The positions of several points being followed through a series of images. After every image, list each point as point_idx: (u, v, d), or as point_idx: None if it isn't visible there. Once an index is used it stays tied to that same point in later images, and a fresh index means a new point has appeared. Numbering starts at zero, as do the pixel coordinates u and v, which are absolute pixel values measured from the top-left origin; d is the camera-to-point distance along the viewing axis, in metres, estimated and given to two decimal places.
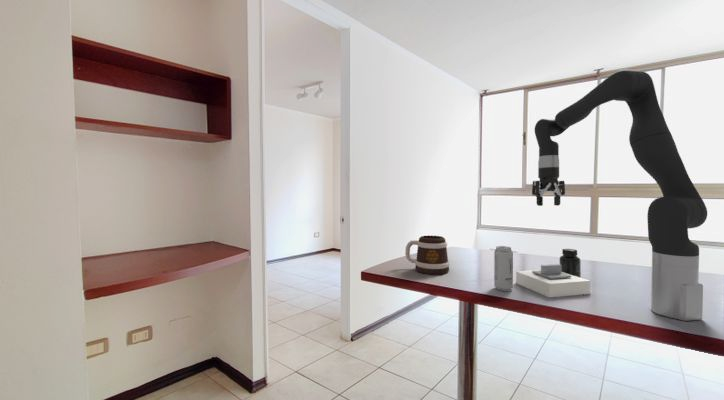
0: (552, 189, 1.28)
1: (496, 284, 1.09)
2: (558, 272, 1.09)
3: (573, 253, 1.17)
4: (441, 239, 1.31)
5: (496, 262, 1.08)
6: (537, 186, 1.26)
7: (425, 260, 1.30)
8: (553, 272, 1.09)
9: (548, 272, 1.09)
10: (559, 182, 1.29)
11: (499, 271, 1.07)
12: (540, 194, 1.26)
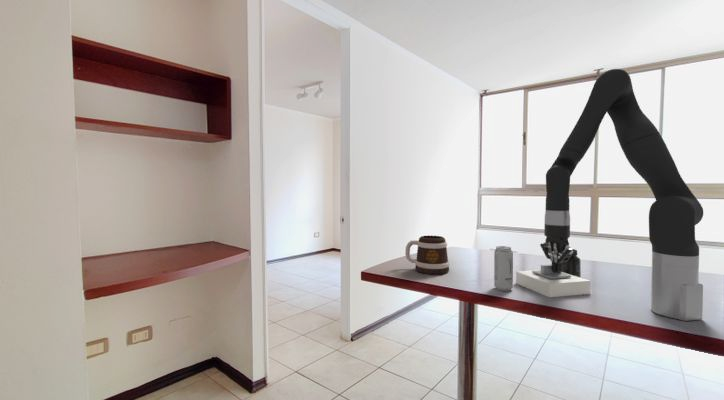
0: None
1: (496, 284, 1.09)
2: None
3: None
4: (441, 239, 1.31)
5: (496, 262, 1.08)
6: None
7: (425, 260, 1.30)
8: (553, 272, 1.09)
9: (548, 272, 1.09)
10: None
11: (499, 271, 1.07)
12: None
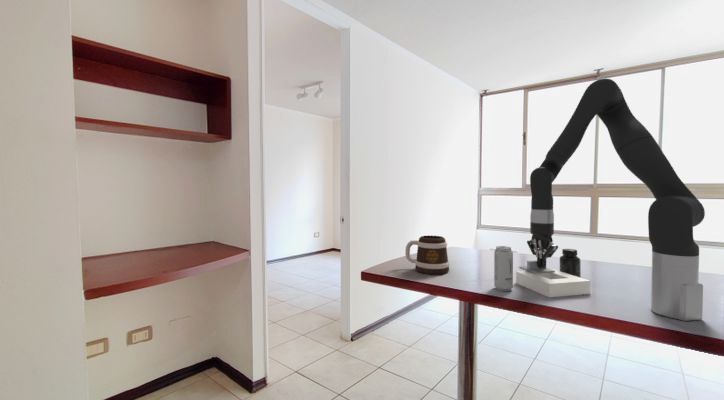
0: None
1: (496, 284, 1.09)
2: None
3: (573, 253, 1.17)
4: (441, 239, 1.31)
5: (496, 262, 1.08)
6: None
7: (425, 260, 1.30)
8: None
9: (533, 267, 1.15)
10: None
11: (499, 271, 1.07)
12: None
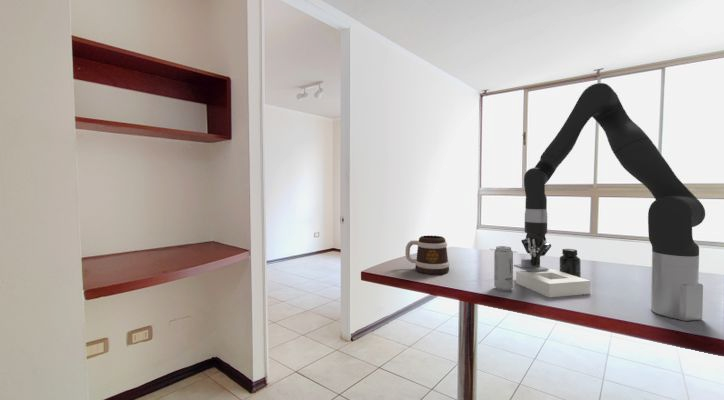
0: None
1: (496, 284, 1.09)
2: None
3: (573, 253, 1.17)
4: (441, 239, 1.31)
5: (496, 262, 1.08)
6: None
7: (425, 260, 1.30)
8: None
9: (528, 265, 1.18)
10: None
11: (499, 271, 1.07)
12: None
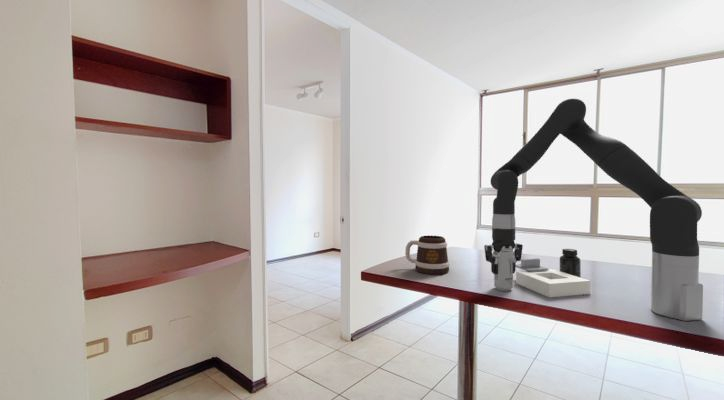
0: None
1: (496, 284, 1.09)
2: (537, 265, 1.19)
3: (573, 253, 1.17)
4: (441, 239, 1.31)
5: None
6: None
7: (425, 260, 1.30)
8: (532, 265, 1.19)
9: (527, 265, 1.18)
10: None
11: (499, 271, 1.07)
12: None
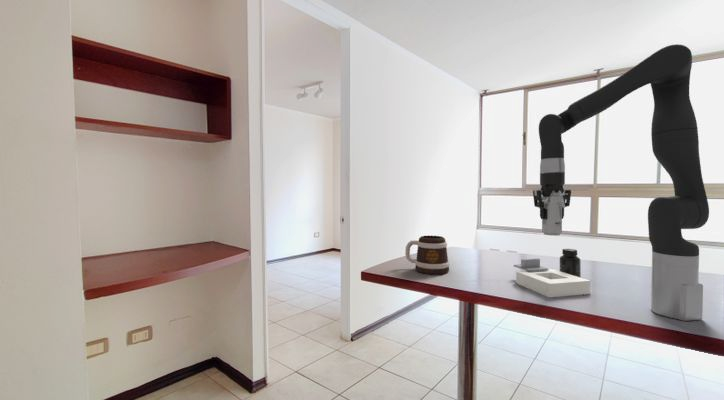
0: None
1: (545, 229, 1.08)
2: (537, 265, 1.19)
3: (573, 253, 1.17)
4: (441, 239, 1.31)
5: None
6: None
7: (425, 260, 1.30)
8: (532, 265, 1.19)
9: (527, 265, 1.18)
10: None
11: (548, 216, 1.07)
12: None
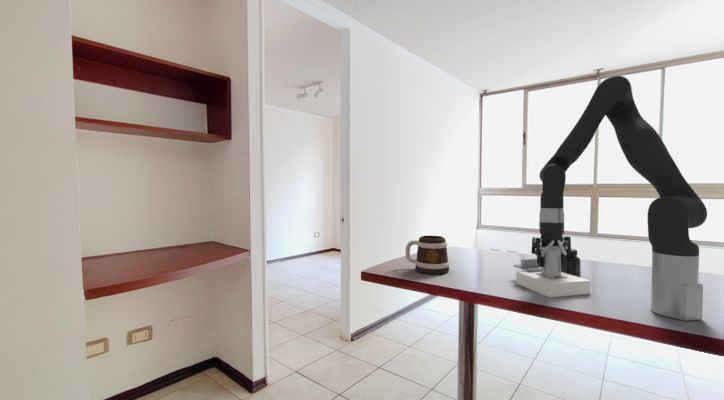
0: None
1: None
2: (537, 265, 1.19)
3: (573, 253, 1.17)
4: (441, 239, 1.31)
5: (544, 260, 1.09)
6: None
7: (425, 260, 1.30)
8: (532, 265, 1.19)
9: (527, 265, 1.18)
10: None
11: (548, 269, 1.08)
12: None
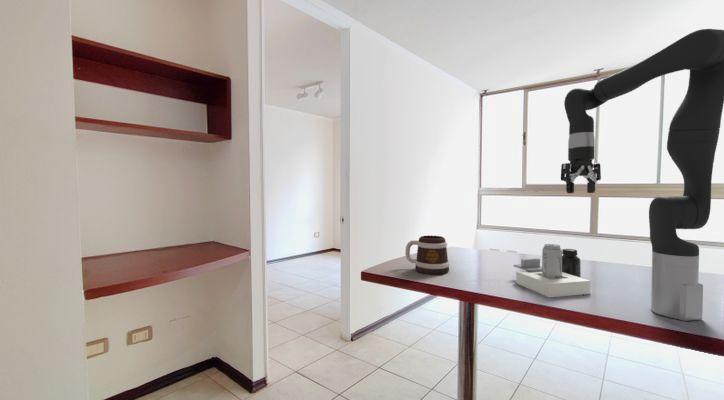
0: None
1: None
2: (537, 265, 1.19)
3: (573, 253, 1.17)
4: (441, 239, 1.31)
5: (545, 260, 1.09)
6: None
7: (425, 260, 1.30)
8: (532, 265, 1.19)
9: (527, 265, 1.18)
10: None
11: (549, 269, 1.08)
12: None
